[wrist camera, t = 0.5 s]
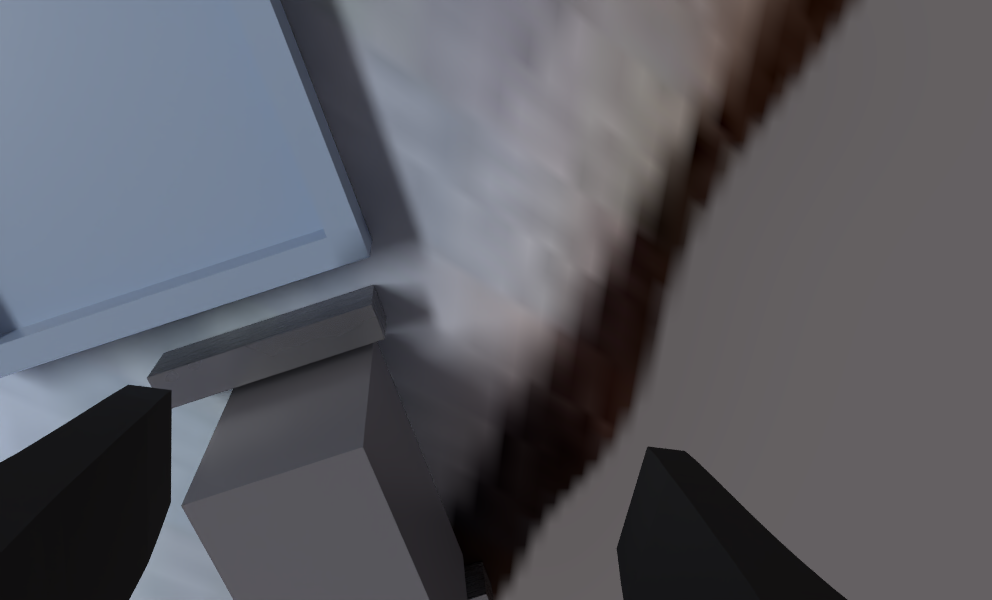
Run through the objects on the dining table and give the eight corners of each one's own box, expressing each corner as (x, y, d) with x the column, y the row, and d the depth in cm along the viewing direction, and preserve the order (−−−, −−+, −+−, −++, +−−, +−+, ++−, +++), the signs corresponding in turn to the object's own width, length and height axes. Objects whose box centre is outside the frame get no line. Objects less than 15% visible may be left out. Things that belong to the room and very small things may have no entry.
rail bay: (313, 642, 26) (308, 679, 24) (163, 353, 22) (146, 377, 20) (491, 584, 26) (496, 618, 24) (373, 284, 22) (370, 304, 20)
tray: (-13, 365, 21) (-43, 392, 20) (-307, -110, 17) (-372, -119, 15) (372, 239, 21) (369, 257, 20) (175, -272, 17) (154, -296, 15)
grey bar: (342, 592, 25) (324, 761, 20) (238, 377, 22) (181, 505, 17) (462, 553, 25) (478, 712, 20) (374, 333, 22) (363, 446, 17)
